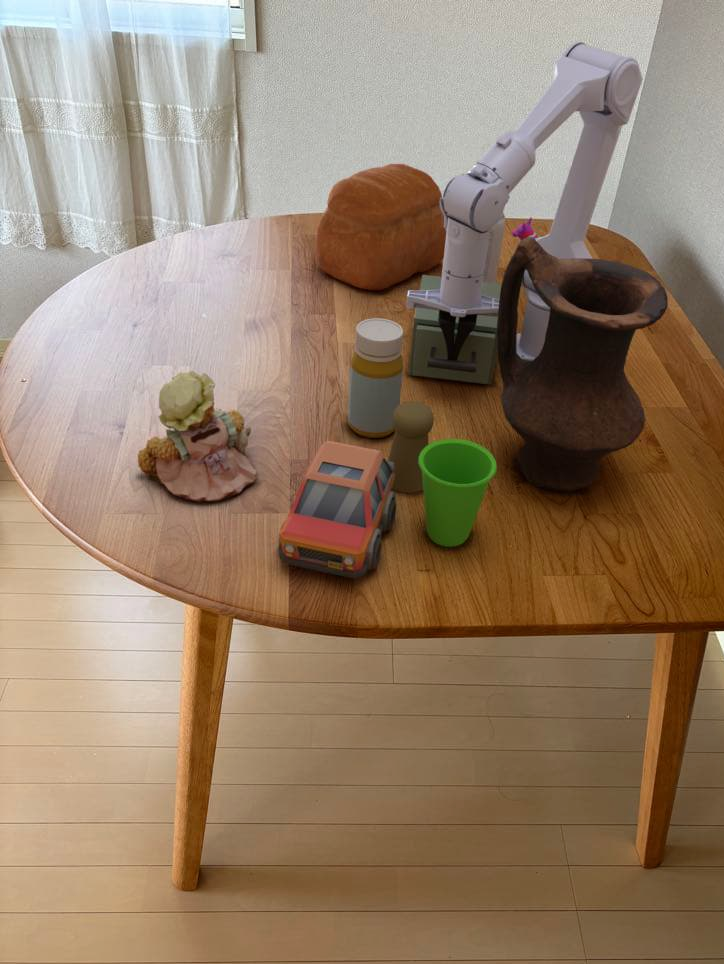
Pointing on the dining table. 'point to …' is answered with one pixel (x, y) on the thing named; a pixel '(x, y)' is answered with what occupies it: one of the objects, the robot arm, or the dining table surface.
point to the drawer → (466, 368)
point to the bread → (381, 227)
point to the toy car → (340, 512)
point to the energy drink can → (494, 251)
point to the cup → (454, 487)
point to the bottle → (375, 377)
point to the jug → (574, 363)
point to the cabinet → (432, 316)
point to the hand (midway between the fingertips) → (452, 357)
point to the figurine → (198, 443)
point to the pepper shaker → (409, 444)
